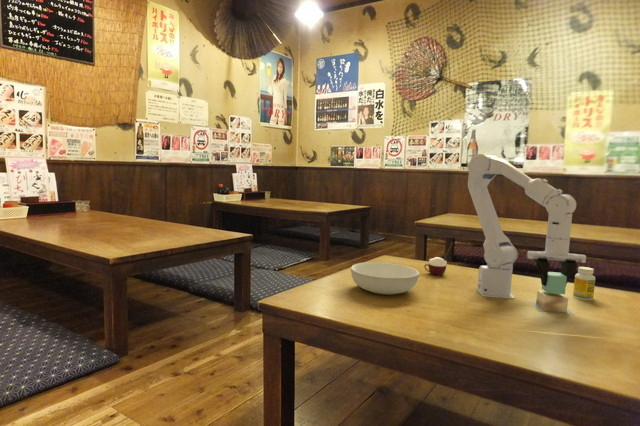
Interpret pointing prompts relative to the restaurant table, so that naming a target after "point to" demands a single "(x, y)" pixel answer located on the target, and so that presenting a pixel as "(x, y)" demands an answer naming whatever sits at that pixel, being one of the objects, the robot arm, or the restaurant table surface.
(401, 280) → the serving bowl
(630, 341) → the restaurant table surface
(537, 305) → the build pad
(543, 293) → the birch block
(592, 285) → the supplement bottle
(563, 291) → the teal cube
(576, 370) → the restaurant table surface
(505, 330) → the restaurant table surface
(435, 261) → the cocoa
